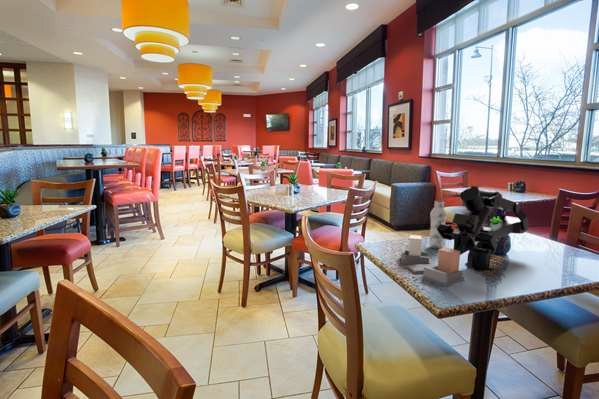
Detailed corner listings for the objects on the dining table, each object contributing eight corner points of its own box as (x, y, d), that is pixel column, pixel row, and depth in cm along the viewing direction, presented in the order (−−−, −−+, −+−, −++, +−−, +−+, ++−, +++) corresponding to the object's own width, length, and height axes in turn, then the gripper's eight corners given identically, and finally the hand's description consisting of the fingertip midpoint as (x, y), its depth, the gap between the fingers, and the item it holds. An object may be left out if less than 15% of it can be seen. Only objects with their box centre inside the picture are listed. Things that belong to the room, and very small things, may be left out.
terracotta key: (444, 270, 115) (445, 247, 113) (458, 275, 111) (460, 251, 109) (436, 273, 112) (438, 249, 111) (451, 277, 108) (452, 253, 107)
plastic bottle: (434, 251, 141) (438, 203, 138) (424, 246, 148) (427, 200, 145) (448, 249, 143) (451, 202, 140) (437, 245, 149) (440, 200, 147)
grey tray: (423, 255, 135) (424, 246, 134) (473, 285, 106) (474, 272, 105) (391, 257, 133) (392, 247, 132) (433, 287, 104) (434, 275, 103)
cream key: (419, 256, 130) (420, 235, 129) (420, 260, 125) (421, 239, 124) (408, 255, 131) (409, 235, 130) (408, 259, 126) (410, 238, 125)
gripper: (441, 201, 121) (420, 235, 116) (496, 208, 105) (474, 249, 101) (452, 220, 126) (432, 254, 121) (506, 230, 111) (485, 270, 106)
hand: (454, 256), depth 112 cm, fingers closed
